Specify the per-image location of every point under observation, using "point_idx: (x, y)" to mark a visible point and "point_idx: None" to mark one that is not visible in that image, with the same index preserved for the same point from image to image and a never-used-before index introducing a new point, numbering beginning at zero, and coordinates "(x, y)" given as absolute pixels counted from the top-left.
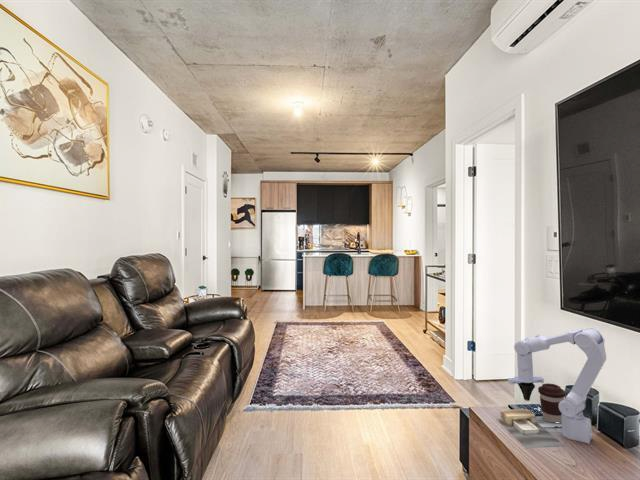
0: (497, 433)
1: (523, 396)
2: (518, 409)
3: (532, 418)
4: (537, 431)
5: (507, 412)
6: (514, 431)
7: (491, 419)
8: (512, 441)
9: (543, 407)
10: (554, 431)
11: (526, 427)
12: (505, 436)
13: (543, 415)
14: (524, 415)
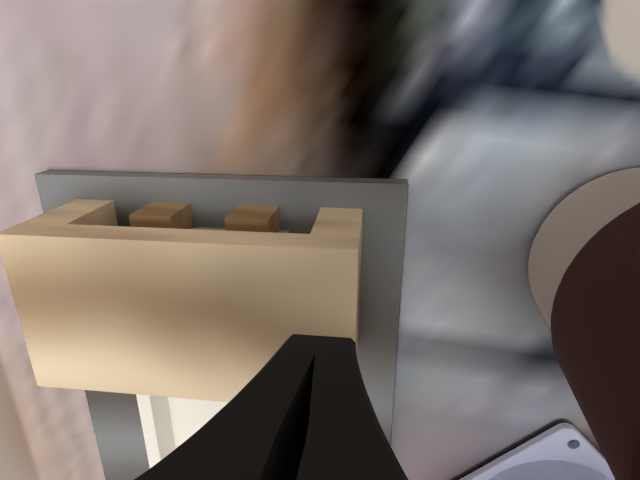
0: (11, 363)
1: (273, 363)
2: (232, 250)
3: None
4: None
5: (63, 305)
6: (126, 397)
7: (13, 135)
8: (83, 461)
9: (572, 357)
10: (470, 413)
11: None
12: (57, 405)
13: (546, 264)
14: (226, 397)
